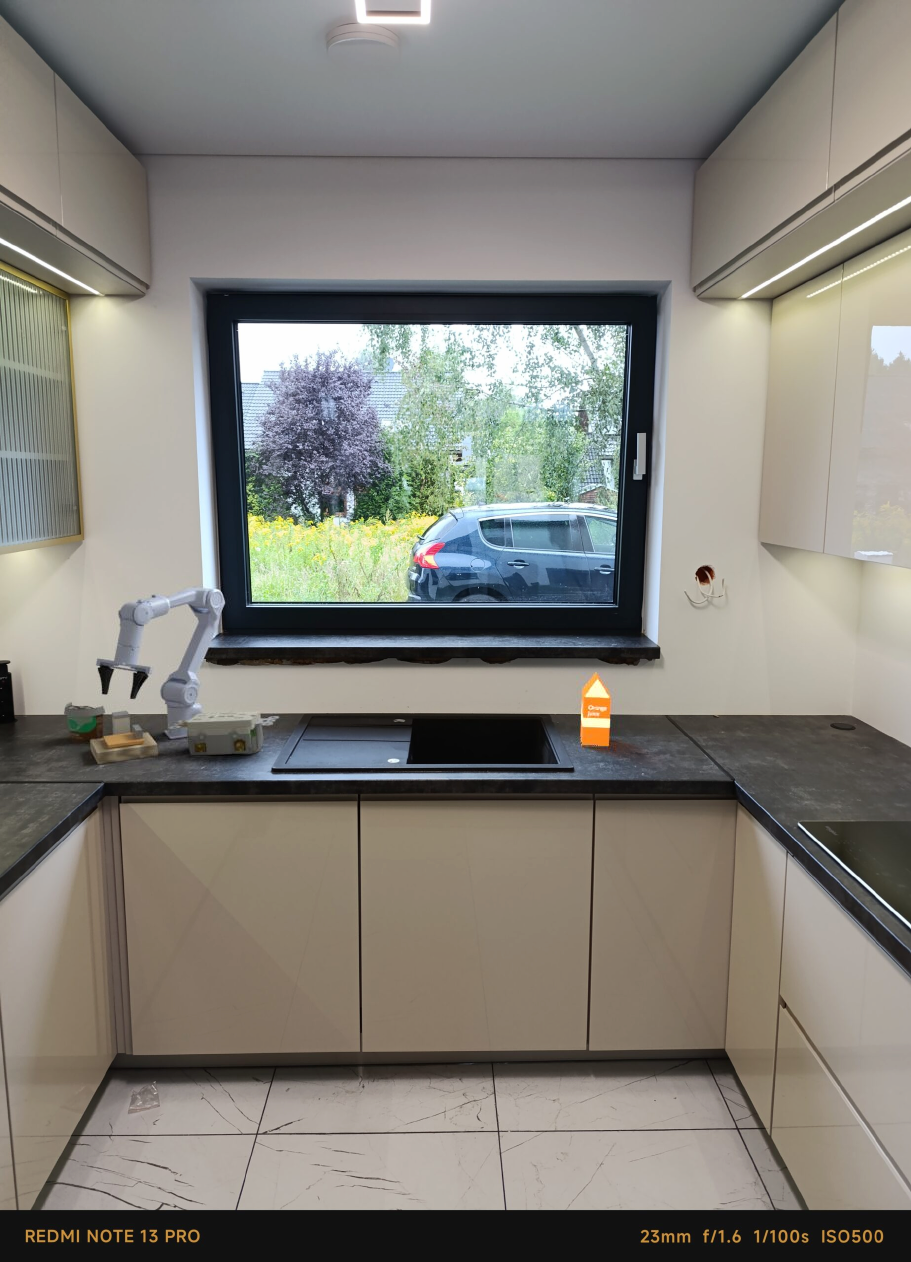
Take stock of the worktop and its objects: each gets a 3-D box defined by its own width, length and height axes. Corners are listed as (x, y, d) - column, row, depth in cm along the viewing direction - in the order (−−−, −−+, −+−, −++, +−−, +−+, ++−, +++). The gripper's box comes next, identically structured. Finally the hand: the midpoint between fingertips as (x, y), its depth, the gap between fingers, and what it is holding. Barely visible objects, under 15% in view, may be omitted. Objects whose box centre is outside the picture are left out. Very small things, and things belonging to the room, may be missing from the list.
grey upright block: (128, 737, 242) (126, 710, 240) (130, 741, 238) (129, 714, 237) (113, 739, 240) (111, 712, 238) (115, 743, 236) (114, 715, 235)
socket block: (148, 742, 237) (147, 732, 237) (157, 755, 226) (157, 744, 226) (90, 750, 230) (90, 739, 229) (98, 764, 219) (97, 753, 218)
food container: (55, 741, 237) (53, 707, 235) (72, 735, 243) (69, 702, 241) (91, 746, 233) (89, 711, 231) (107, 740, 239) (104, 706, 237)
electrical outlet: (272, 756, 224) (269, 720, 223) (168, 760, 226) (164, 724, 225) (284, 743, 236) (280, 709, 234) (185, 747, 238) (181, 712, 236)
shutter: (137, 734, 234) (137, 723, 233) (144, 743, 226) (143, 731, 225) (103, 739, 229) (102, 727, 228) (108, 748, 221) (107, 736, 221)
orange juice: (606, 738, 246) (609, 672, 242) (609, 748, 237) (612, 679, 234) (579, 737, 246) (582, 671, 243) (581, 747, 238) (583, 678, 234)
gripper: (95, 641, 222) (85, 692, 221) (149, 650, 222) (139, 700, 221) (106, 643, 229) (96, 692, 228) (158, 651, 229) (149, 701, 228)
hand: (118, 696), depth 225 cm, fingers open, 7 cm apart
